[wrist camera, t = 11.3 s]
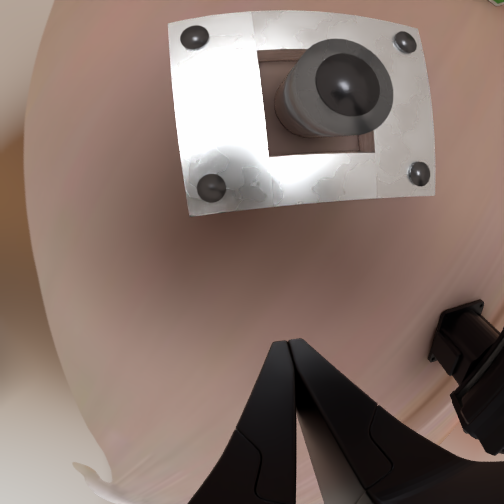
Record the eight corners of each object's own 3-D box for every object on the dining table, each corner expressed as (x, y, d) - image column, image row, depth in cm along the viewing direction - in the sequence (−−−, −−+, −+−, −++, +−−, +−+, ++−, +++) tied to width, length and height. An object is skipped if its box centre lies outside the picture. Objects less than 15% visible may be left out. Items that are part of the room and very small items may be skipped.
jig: (401, 37, 14) (419, 27, 11) (416, 189, 18) (437, 196, 16) (176, 36, 14) (166, 21, 11) (195, 208, 18) (188, 218, 16)
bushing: (336, 74, 15) (387, 43, 9) (343, 136, 17) (400, 136, 10) (270, 75, 15) (289, 35, 9) (278, 139, 17) (302, 136, 10)
